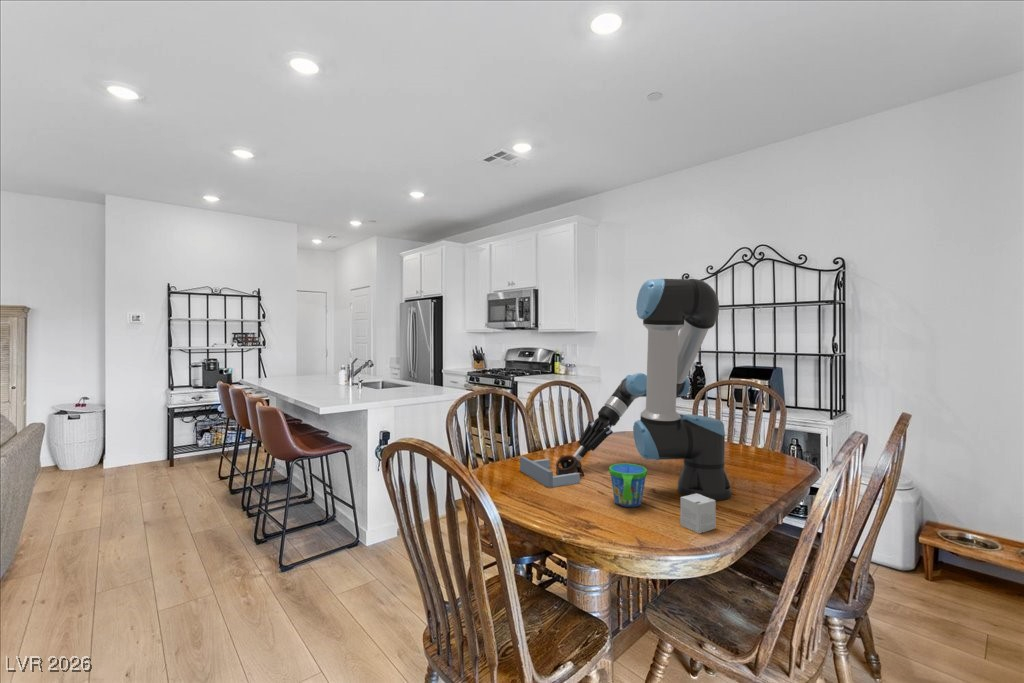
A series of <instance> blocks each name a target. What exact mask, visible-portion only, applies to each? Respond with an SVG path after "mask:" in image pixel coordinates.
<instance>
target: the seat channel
mask: <svg viewBox="0 0 1024 683" xmlns="http://www.w3.org/2000/svg"><path fill="white" fill-rule="evenodd" d="M519 471H520V472H522V473H523V474H525V475H527V476H528V477H529V478H531V479H533V480H535V481H536V482H538V483H539V484H541V485H543V486H545V487H547V488H548V489H549V488H550V489H551V488H555V487H563V486H567V485H568V486H569V485H576V484H580V481H581V479H580V478H581V476H580V474H581V473H571V474H564V475H558V476H556V475H554V471H553V470H551V459H549V458H545V459H544V458H543V459H535V460H532V459H529V458H528V457H526V456H519Z"/></svg>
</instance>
